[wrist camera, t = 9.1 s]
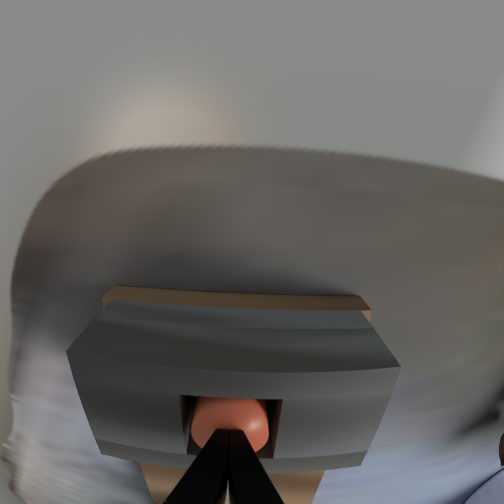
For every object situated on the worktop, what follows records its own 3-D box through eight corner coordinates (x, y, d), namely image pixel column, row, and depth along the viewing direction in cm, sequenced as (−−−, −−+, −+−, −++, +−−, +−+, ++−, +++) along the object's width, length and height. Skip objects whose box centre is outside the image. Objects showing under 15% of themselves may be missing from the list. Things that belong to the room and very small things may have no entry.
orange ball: (262, 410, 11) (265, 457, 9) (201, 407, 11) (193, 454, 9) (266, 362, 11) (271, 410, 8) (198, 359, 11) (188, 406, 8)
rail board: (291, 528, 20) (297, 575, 15) (170, 523, 20) (163, 569, 14) (360, 296, 14) (414, 365, 8) (114, 285, 13) (53, 348, 8)
